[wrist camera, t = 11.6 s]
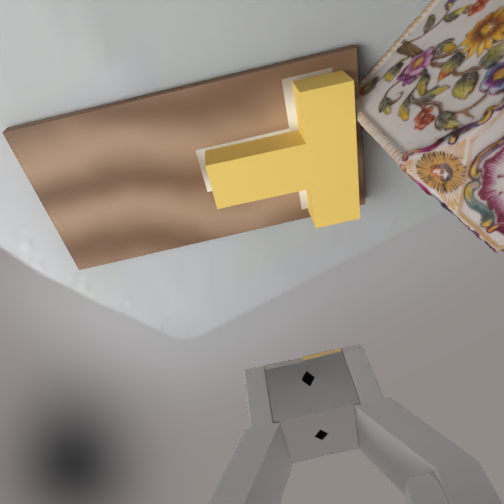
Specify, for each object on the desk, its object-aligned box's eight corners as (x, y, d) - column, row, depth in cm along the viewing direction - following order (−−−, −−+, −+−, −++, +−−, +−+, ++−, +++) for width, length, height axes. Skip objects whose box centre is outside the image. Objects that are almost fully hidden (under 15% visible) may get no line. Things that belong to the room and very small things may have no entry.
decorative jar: (529, 74, 38) (737, 163, 23) (422, 175, 43) (541, 301, 28) (448, -29, 33) (652, 2, 18) (336, 98, 37) (428, 204, 23)
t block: (192, 103, 35) (192, 116, 32) (342, 70, 35) (354, 80, 32) (225, 229, 42) (227, 247, 39) (350, 201, 42) (360, 218, 39)
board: (6, 128, 35) (2, 132, 34) (352, 44, 35) (356, 47, 34) (81, 263, 43) (79, 270, 43) (361, 198, 43) (365, 204, 42)
